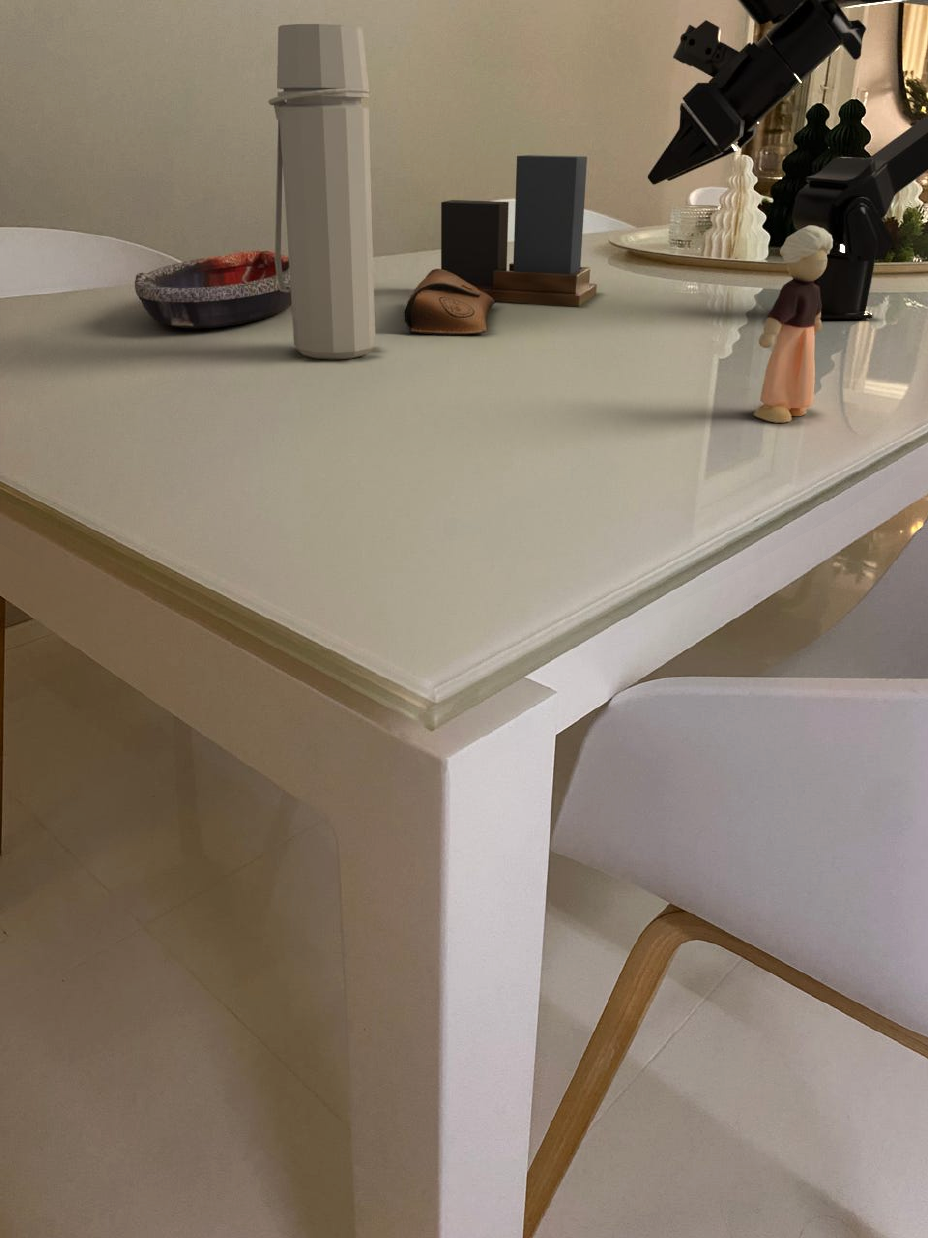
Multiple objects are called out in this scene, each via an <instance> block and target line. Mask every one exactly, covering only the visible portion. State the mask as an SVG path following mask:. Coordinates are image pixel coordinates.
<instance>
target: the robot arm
mask: <svg viewBox="0 0 928 1238" xmlns="http://www.w3.org/2000/svg"><path fill="white" fill-rule="evenodd" d="M737 1H738V3H739V4H740V5H741V7H742V8H743V9H744V10H745V12H746V13H747V14H748V15H749V16H750V18H751V19H752V20H753V22H754V23H755V24H756V25H757V26H758V25H759V26H761V25H764V24H767V23H770V24H772V25H773V26H772V27H771V28H770V30H768V31H767V32H766V33H765V35H763V36H762V37H761V38H760V39H759V40H758V41H757V42H754V41H753V42H752V43H751V42H748V43H747V44H746V45H745V46H744V47H743V48H742V49H741V50H740V51H739V50H737V49H735V48H733V47H731V46H729V45H728V44H726V43H725V42H723V41H721V31H722V28H721V27H720V26H718V25H716V24H714V23H713V22H711V21H709V20H707V19H705V20H704V21H703V22H702V23H701V24H699V25H698V26H696V27H695V26H694V25H692V24H688V26H687V28H686V30H685V32H683V33H682V34H681V35H680V39H679V40H680V42H679V44H678V46H677V48H676V50H675V52H674V54H673V56H672V58H673V59H674V60H676V61H678V62H679V63H682V64H685V65H687V66H689V67H694V68H695V69H697V70H698V71H700V72H703V73H704V74H705V75H708V76H710V77H712V78H711V79H709V81H708V82H696V84H695V85H694V86H693V87H692V88H691V89H690V90H688V92H686V94H685V95H684V96H683V97H682V100H683V102H681V103H680V105H679V126H678V130H677V131H676V133H675V134H674V136H673V138H672V139H671V141H670V142H669V143H668V145H667V147H666V148H665V150H664V151H663V152H662V154H661V155H660V157H659V158H658V160H657V161H656V163H655V164H654V166H653V167H652V169H651V170H650V171H649V173H648V175H647V179H648V181H649V182H650V183H651V184H652V185H658V184H660V183H661V182H664V181H668V182H670V181H672V180H675V179H677V178H679V177H682V176H684V175H686V174H688V173H691V172H693V171H695V170H697V169H700V168H702V167H705V166H706V165H709V164H711V163H714V162H716V161H719V160H720V159H722V158H725V157H728V156H729V155H732V154H734V153H737V151H738V149H737V147H738V148H739V149H743V148H744V147H745V146H747V144H749V142H751V141H752V140H753V139H754V138H755V137H756V136H757V132H758V131H757V130H758V126H759V125H760V124H761V123H760V122H761V121H762V120H763V119H765V118H766V117H767V115H769V114H770V113H771V112H772V111H773V110H774V109H775V108H776V107H777V106H778V105H780V103H782V102H783V101H784V100H787V99H788V98H789V97H790V96H791V95H793V94H794V90H796V88H798V86H800V85H801V84H802V82H804V81H805V80H806V79H807V78H808V77H809V76H810V75H811V74H812V73H813V72H815V71H816V70H817V69H818V68H819V67H820V66H821V65H822V64H823V63H824V62H826V61H827V59H828V58H829V57H831V56H832V55H833V54H834V53H835V52H836V51H837V50H838V49H839V48H840V47H842V48H843V49H844V50H845V51H846V52H847V54H849V56H850V57H851V58H852V59H853V60H856V61H857V60H860V58H861V56H862V49H863V39H864V36H865V33H866V31H867V27H866V25H865V24H864V23H863V22H862V21H861V20H860V19H856V20H855V19H853V20H849V18H848V17H847V16H846V14H845V12H844V11H843V10H842V9H846V8H854V7H861V6H870V5H871V6H872V5H878V4H885V3H900V4H901V3H902V4H910V5H919V6H927V7H928V0H737ZM735 144H736V146H737V147H736V146H735ZM926 172H928V114H926V115H925V116H924V117H923V118H922V119H920V120H919V121H917V122H916V123H914V124H913V125H911V126H910V127H909V128H908V129H906V130H905V131H903V132H902V133H901V134H899V135H898V136H896V138H894V139H893V140H891V141H890V142H888V143H887V144H886V145H884V146H883V147H882V148H881V149H879V150H878V151H876V152H875V153H873V154H872V155H870V157H850V156H837V157H835V158H834V159H832V160H831V161H829V162H828V163H827V164H826V165H825V166H824V167H823V168H822V169H821V170H820V171H819V172H817V173H815V174H812V175H810V176H806V178H805V181H806V182H807V184H805V185H804V186H803V187H802V188H801V189H800V190H799V191H798V192H797V194H796V196H795V197H794V200H795V202H794V204H793V207H792V217H791V218H792V223H793V226H794V229H795V230H796V232H797V231H798V230H800V229H803V228H804V227H807V226H817V227H820V228H823V229H825V230H826V231H827V232H828V233H829V234H830V235H831V236H832V239H833V247H832V249H831V250H830V253H829V254H827V266H826V268H825V271H824V272H823V274H822V275H821V276H820V277H819V278H817V279H816V280H814V281H813V282H814V284H815V285H818V286H819V287H820V298H821V305H822V308H821V317H820V320H859V319H861V320H862V319H864V320H865V319H867V320H868V319H869V320H870V319H873V317H874V314H873V313H872V312H868V311H867V308H868V307H867V306H868V301H869V296H870V290H871V284H872V279H873V273H874V270H875V269H874V268H875V263H876V261H883V260H886V258H887V256H888V254H889V252H890V250H891V249H892V246H893V244H894V241H895V240H894V236H893V235H892V233H891V232H890V230H889V228H888V227H887V225H886V223H885V222H884V221H883V219H884V218H885V217H886V216H887V213H888V211H889V209H890V207H891V205H892V202H893V200H894V198H895V197H896V195H897V194H898V193H899V192H901V191H902V190H903V189H906V188H907V186H909V185H910V184H911V183H913V182H914V181H915V180H917V179H919V178H920V177H921V176H922V175H924V174H925V173H926Z"/></svg>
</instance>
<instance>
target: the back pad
mask: <svg viewBox="0 0 928 1238" xmlns="http://www.w3.org/2000/svg"><path fill="white" fill-rule="evenodd" d="M587 165H588V156H586V155H585V156H584V155H583V156H582V155H581V156H580V155H579V156H577V155H547V154H545V155H541V154H539V155H538V154H525V155H516V171H515V172H516V173H515V175H516V177H515V200H514V201H515V203H514V205H515V206H514V235H513V236H514V238H513V239H514V240H513V262H512V263H513V271H521V272H539V273H557V274H573V273H575V272H577V271H578V270H580V267H582V266H581V265H582V263H581V262H582V250H583V249H582V247H583V231H584V215H585V214H584V212H585V196H586V180H587V167H588V166H587Z"/></svg>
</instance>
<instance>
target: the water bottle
mask: <svg viewBox="0 0 928 1238" xmlns="http://www.w3.org/2000/svg"><path fill="white" fill-rule="evenodd" d="M367 67H368V66H367V56H366V49H365V38H364V31H363V28H362V27H359V26H355V25H346V24H345V25H344V24H328V23H294V24H293V23H291V24H282V25H279V26H277V68H276V69H277V72H276V77H277V78H276V89H280V90H283V91H277V96H275V97H273V98H270V99H268V101H267V102H268V104H269V105H270V106H273V109H274V114H275V119H276V120H277V147H276V149H277V151H276V187H275V188H276V191H275V194H276V195H275V199H276V200H275V227H274V228H275V229H274V230H275V231H274V253H275V266H276V274H277V280H278V284H279V288H280V291H282V292H291V302H292V305H291V315H292V317H291V318H292V333H293V345H294V347H295V348H296V349H297V351H298V352H299V353H301V354H302V355H303V356H305V357H307V358H312V359H317V360H330V361H331V360H333V361H334V360H335V361H336V360H352V359H355V358H361V357H364V356H365V355H368V353H370V352H371V351H372V350H373V349H374V347H375V346H376V324H375V323H376V319H375V318H376V317H375V316H376V315H375V314H376V313H375V284H374V283H375V282H374V280H375V279H374V245H373V244H374V243H373V208H372V207H373V206H372V172H371V170H372V169H371V136H370V131H371V130H370V108H369V107H367V106H364V105H363V104H362V99H369V98H370V93H371V92H370V83H369V75H368V68H367ZM283 188H284V189H283ZM283 190H284V203H285V204H284V205H285V220H286V222H285V223H286V235H287V238H286V239H287V253H288V257H289V270H290V287H289V289H286V286H285V283H284V279H283V273H282V265H281V254H282V222H283V221H282V219H283V217H282V215H283V213H282V212H283V211H282V210H283Z"/></svg>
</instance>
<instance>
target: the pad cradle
mask: <svg viewBox="0 0 928 1238" xmlns="http://www.w3.org/2000/svg"><path fill="white" fill-rule="evenodd" d="M509 205H510V204H509V201H493V200H492V201H491V200H470V199H469V200H467V199H466V200H465V199H450V200H444V201H441V202H440V269H442V270H446V271H448V272H450V273H453V274H455V275H457V276H458V277H460V278H461V279H463V280H464V281H466V282H467V283H469V284H471V285H473V286H474V287H476V288H477V289H478V290H480V291H482V292H484V293H486V294H487V295H489V296H490V297H491V298H493V300H494V302H499V303H514V304H527V305H530V304H531V305H543V306H544V305H546V306H558V307H559V306H562V307H577V308H579V307H581V306H582V305H583V304H584V303H586V302H587V301H589V300H590V299H592V298H593V297H594V296H596V295H597V287H598V284H597V283H590V277H591V276H590V275H591V267H590V266H580V270H578V271H577V272H575V273H573V274H557V273H539V272H521V271H513V263H514V262H511V263H509V264H508V240H509V239H508V238H509V237H508V236H509ZM507 267H508V268H507Z"/></svg>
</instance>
